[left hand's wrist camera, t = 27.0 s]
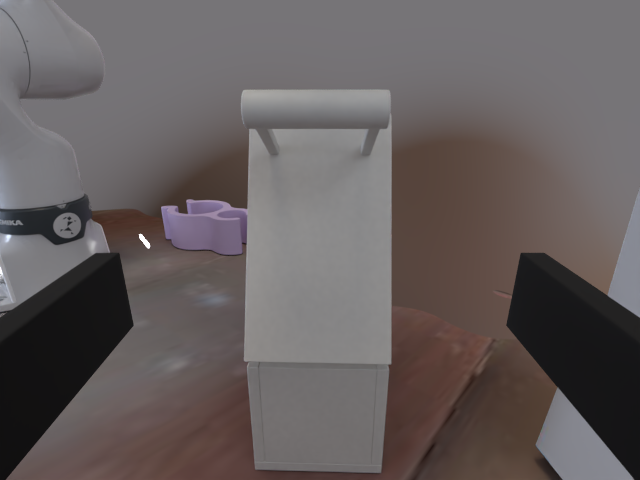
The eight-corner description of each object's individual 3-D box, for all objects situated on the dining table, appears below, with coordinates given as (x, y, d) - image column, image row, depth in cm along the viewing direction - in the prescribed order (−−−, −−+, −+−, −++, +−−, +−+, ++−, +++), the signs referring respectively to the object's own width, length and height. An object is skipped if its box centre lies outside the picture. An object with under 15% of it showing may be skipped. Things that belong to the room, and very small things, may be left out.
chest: (281, 342, 46) (278, 268, 43) (364, 344, 46) (367, 269, 43) (254, 470, 30) (246, 367, 27) (381, 473, 30) (389, 370, 27)
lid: (253, 120, 28) (216, 51, 19) (388, 120, 28) (417, 50, 19) (247, 357, 27) (205, 405, 18) (388, 359, 27) (419, 410, 18)
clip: (267, 240, 79) (266, 209, 77) (225, 261, 69) (222, 225, 67) (201, 225, 89) (197, 197, 87) (155, 241, 79) (150, 209, 77)
